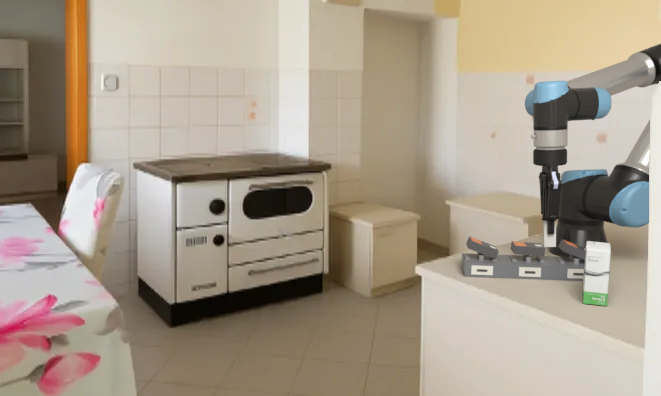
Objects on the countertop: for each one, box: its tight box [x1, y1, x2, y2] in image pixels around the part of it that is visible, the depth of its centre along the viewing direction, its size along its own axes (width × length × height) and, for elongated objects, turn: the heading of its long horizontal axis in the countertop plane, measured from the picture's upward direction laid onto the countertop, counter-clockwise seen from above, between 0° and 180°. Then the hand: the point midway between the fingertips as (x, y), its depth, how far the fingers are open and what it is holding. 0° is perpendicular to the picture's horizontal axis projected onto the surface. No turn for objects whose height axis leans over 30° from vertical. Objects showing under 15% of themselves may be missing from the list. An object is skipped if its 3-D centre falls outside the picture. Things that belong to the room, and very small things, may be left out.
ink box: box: [582, 241, 612, 307], centre depth 133 cm, size 9×5×12 cm, turn 158°
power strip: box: [461, 252, 585, 282], centre depth 152 cm, size 30×9×5 cm, turn 83°
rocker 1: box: [465, 236, 500, 259], centre depth 153 cm, size 7×5×2 cm
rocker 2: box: [510, 240, 546, 257], centre depth 151 cm, size 7×5×2 cm
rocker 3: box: [558, 239, 586, 260], centre depth 150 cm, size 7×5×2 cm
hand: (549, 246), depth 151 cm, fingers closed
